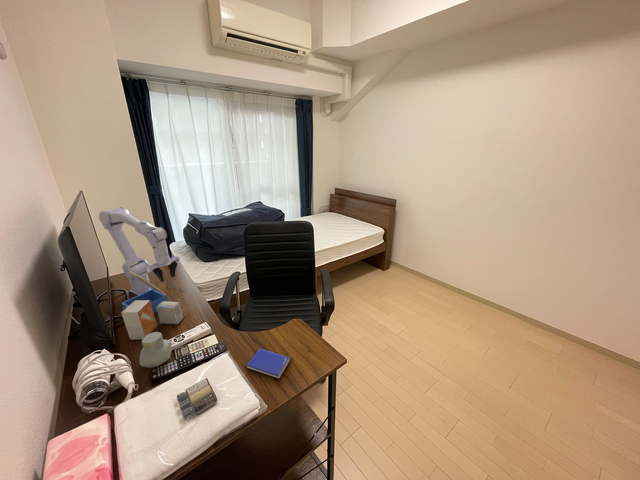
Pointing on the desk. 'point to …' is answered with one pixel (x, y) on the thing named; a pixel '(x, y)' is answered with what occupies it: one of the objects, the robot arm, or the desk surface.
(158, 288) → the lid
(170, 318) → the medicine box
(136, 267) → the robot arm
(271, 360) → the hard drive
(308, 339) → the desk surface
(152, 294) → the case
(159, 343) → the air freshener
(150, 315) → the small box
